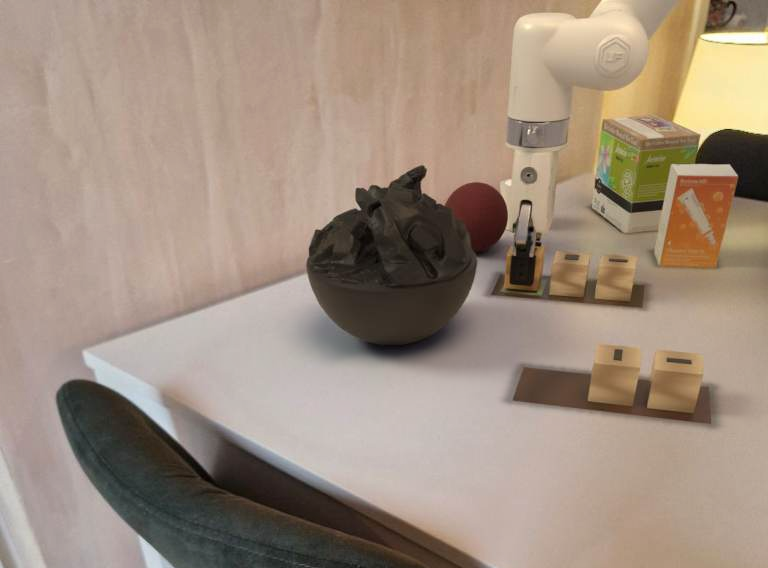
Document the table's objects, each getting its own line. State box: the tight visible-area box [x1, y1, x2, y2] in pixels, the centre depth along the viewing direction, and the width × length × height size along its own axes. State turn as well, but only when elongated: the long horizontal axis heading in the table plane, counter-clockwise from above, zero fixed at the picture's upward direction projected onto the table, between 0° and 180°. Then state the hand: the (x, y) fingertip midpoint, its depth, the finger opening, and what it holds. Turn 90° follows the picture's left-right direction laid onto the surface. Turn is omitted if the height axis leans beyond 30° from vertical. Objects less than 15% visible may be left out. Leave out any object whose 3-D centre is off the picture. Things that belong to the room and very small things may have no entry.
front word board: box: [512, 343, 712, 425], centre depth 80 cm, size 20×8×5 cm, turn 73°
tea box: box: [591, 114, 702, 234], centre depth 124 cm, size 15×10×15 cm, turn 10°
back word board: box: [490, 250, 645, 309], centre depth 103 cm, size 20×8×5 cm, turn 73°
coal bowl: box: [305, 164, 478, 346], centre depth 89 cm, size 20×20×19 cm
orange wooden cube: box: [504, 244, 546, 291], centre depth 104 cm, size 5×5×5 cm
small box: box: [653, 163, 739, 268], centre depth 109 cm, size 8×6×13 cm
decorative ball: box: [444, 181, 508, 253], centre depth 116 cm, size 10×10×10 cm
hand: (524, 276), depth 105 cm, fingers closed on orange wooden cube, 4 cm apart
